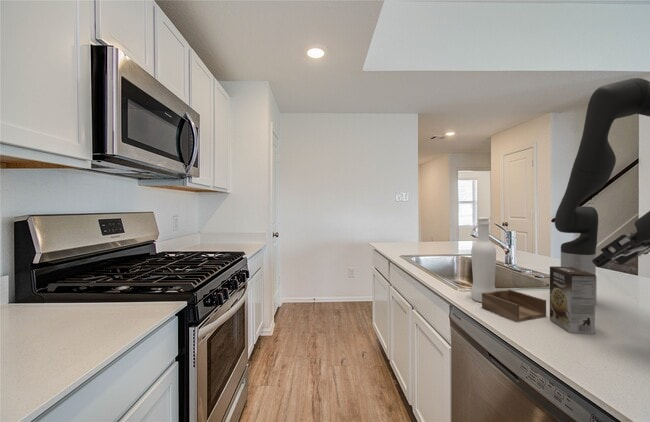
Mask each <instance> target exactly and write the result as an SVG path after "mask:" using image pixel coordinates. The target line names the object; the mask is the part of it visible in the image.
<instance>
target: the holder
mask: <svg viewBox="0 0 650 422" xmlns="http://www.w3.org/2000/svg"><path fill="white" fill-rule="evenodd" d="M481 308H482V309H484V310H486V311H489V312H491V313H493V314H496V315H498V316H500V317H503V318H506V319H508V320H510V321H513V322H515V323H519V322H524V321H529V320H530V321H531V320H534V319H540V318H541V319H542V318H547V300H546V299H542V298H539V297H536V296H532V295H530V294H525V293H523V292H519V291H515V290H513V289H508V288H507V289H504V290H503V289H501V290H496V291H493V292H486V293H482V303H481Z"/></svg>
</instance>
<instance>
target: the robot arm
mask: <svg viewBox="0 0 650 422" xmlns="http://www.w3.org/2000/svg"><path fill="white" fill-rule="evenodd" d="M633 115H642V116H646V117H650V80H647V79H644V78H642V77H641V78H639V77H637V78H636V77H635V78H628V79H624V80H619V81H616V82H612V83H609V84H605V85H601V86H599V87H598V88H596V89H595V90H594V92H593V93H592V94H591V96H590V98H589V100H588V103H587V109H586V114H585V119H584V120H585V121H584V126H583V130H582V135H581V139H580V143H579V145H578V146H579V147H578V150H577V152H576V153H577V154H576V156H575V159H574V162H573V164H572V168H571V171H570V175H569V179H568V181H567V186H566V189H565V192H564V194H563V196H562V198H561V201H560V203H559V206H558V207H557V210H556V213H555V217H554V227H555V228H556V230H557V231H558V232H560V233H565V234H580V235H579V236H578V237H576V238H575V239H573V240H570V241H566V242H563V243H561V245H560V267H573V268H576V269H579V270H583V271H586V272H589V273H592V274H595V275H596V286H595V304H596V303H597V298H598V297H597V289H598V287H597V286H598V285H597V281H598V280H597V273H596V268H602V267H605V266H606V265H607V264H609V263H611V262H612V261H614V260H615V261H616V263H618V264H619V265H620V266H621V265H625V264H626V263H628V262H630V261H631V260H633V259H634V258H637V257H641V256H642V255H648V254H649V253H650V210H649V211H648V212H646V213H645V214H643V215H641V216H640V217H639V218H638V219H636V220H635V221H634V227H635V229H636V232H634V233H632V232H630V233H628V234H625V233H624V234H621V235H620V236H618V237H617V238H616V239H614V240H613V241H610V243H608V244H607V245H605V246H604V247H602V248H601V249H600V252H602V253H600V254H599V255H596V254H597V245H598V233H599V232H598V231H599V214H598V211H597V209H596V208H595V207H593V206H580V204H581V203H583V202H584V201H585V200H586V199H588V197H590V196H592V195H593V194H595V193H596V192H598V191H599V190H601V189H602V188H603V187H604V186H605V185H606V184H607V183H608V182H609V180H610V178H611V176H612V173H613V171H614V168H615V167H616V164H617V157H616V155H615V152H614V149H613V148H612V146H611V145H610V141H609V139H608V138H609V134H610V130H611V127H612V125H613V123H614V121H615V120H617V119H621V118H626V117H631V116H633ZM613 250H614V252H613Z"/></svg>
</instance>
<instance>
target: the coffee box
mask: <svg viewBox="0 0 650 422" xmlns="http://www.w3.org/2000/svg"><path fill="white" fill-rule="evenodd" d="M596 276H597V274H596V275H595V274H592V273H589V272H586V271H583V270H579V269H576V268H573V267H561V266H549V321H551V322H552V323H554V324H555V325H557V326H559V327H560V328H562V329H563V330H565V331H566V332H567V333H569V334H583V333H586V335H588V334H589V335H595V333H596V331H595V330H596V328H595V327H596V326H595V322H596V317H595V316H596V303H595V286H596Z"/></svg>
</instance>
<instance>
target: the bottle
mask: <svg viewBox="0 0 650 422" xmlns="http://www.w3.org/2000/svg"><path fill="white" fill-rule="evenodd" d="M489 220H490V219H489V217H488V216H479V217H477V240H476V241H475V242H474V244H473V245H472V247H471V251H470V252H471V253H470V255H471V256H470V257H471V268H472V269H471V270H472V271H471V272H472V286H471V289H470V295H471V298H472V300H473V301H476V302H478V303H480V304H482V293H486V292H493V291H497V290H496V286H495V282H496V281H495V280H496V279H495V278H496V266H497V265H496V262H497V249H496V247H495V245H494V244H493V242H491V240H490V221H489Z"/></svg>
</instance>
